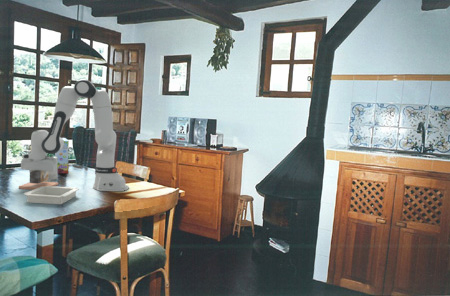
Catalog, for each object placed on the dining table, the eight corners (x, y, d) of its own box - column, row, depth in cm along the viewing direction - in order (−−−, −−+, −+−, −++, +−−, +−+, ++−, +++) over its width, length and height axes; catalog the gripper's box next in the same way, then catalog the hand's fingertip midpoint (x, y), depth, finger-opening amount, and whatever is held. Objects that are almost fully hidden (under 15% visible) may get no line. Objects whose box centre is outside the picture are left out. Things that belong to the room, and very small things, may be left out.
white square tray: (80, 195, 187) (80, 187, 187) (63, 205, 166) (63, 197, 166) (43, 193, 187) (43, 185, 186) (21, 203, 165) (21, 194, 165)
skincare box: (53, 177, 228) (54, 156, 226) (57, 179, 223) (58, 157, 222) (41, 179, 221) (41, 156, 220) (45, 180, 217) (45, 158, 215)
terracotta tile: (58, 184, 209) (58, 182, 209) (45, 190, 193) (45, 187, 193) (33, 183, 208) (33, 180, 208) (18, 188, 192) (18, 186, 192)
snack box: (53, 168, 260) (54, 137, 257) (65, 168, 264) (66, 137, 262) (56, 173, 241) (56, 140, 239) (68, 173, 246) (69, 140, 244)
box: (48, 179, 206) (48, 169, 206) (37, 183, 194) (38, 172, 194) (40, 179, 206) (40, 168, 205) (29, 183, 194) (29, 171, 193)
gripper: (58, 156, 201) (57, 177, 202) (25, 154, 200) (25, 175, 202) (53, 157, 195) (52, 179, 196) (19, 155, 194) (19, 177, 196)
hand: (38, 177), depth 199 cm, fingers closed on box, 5 cm apart
